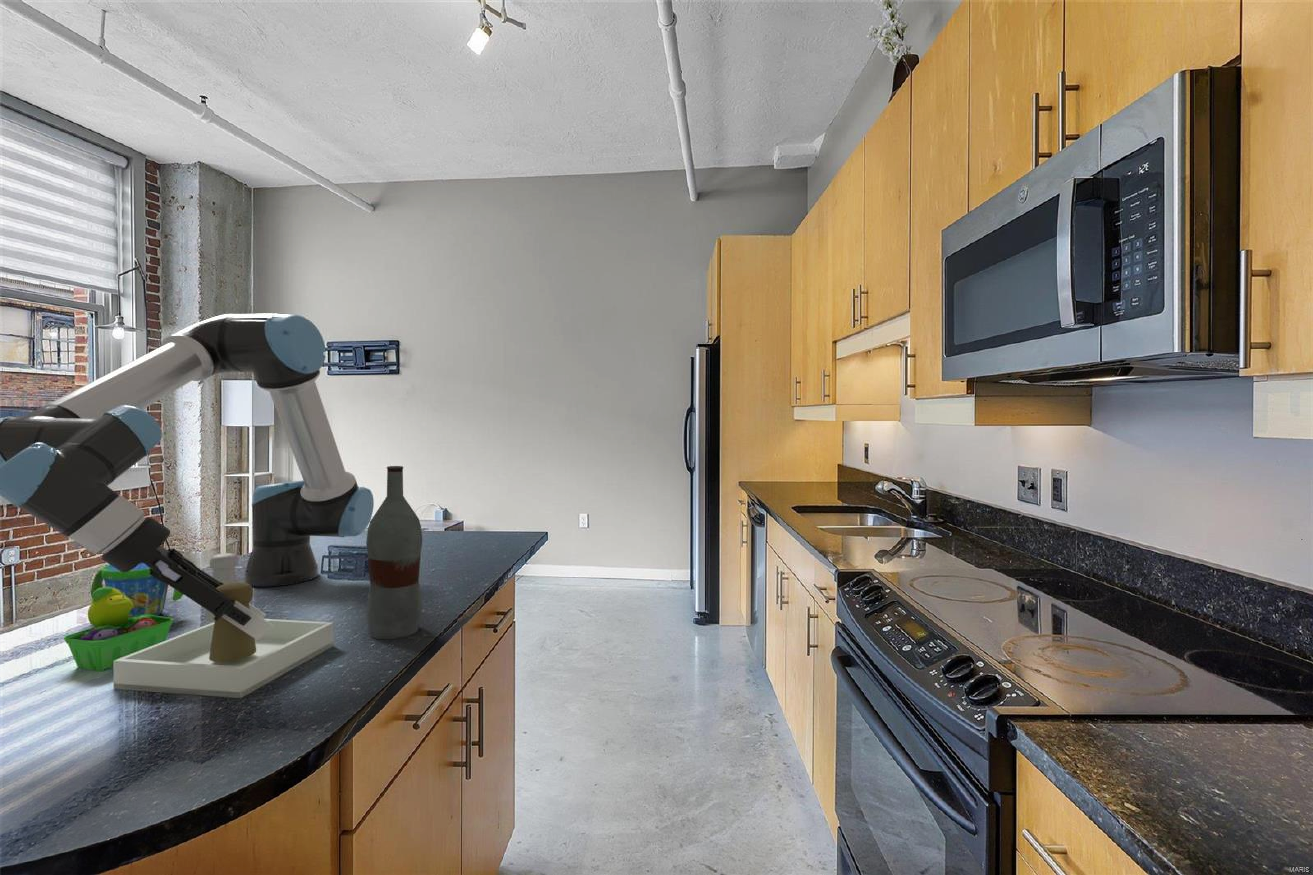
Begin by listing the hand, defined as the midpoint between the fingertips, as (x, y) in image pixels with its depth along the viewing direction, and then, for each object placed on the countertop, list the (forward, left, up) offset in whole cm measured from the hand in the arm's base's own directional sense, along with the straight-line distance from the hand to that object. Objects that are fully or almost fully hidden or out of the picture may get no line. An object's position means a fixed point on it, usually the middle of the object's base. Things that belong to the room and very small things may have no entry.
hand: (261, 626), depth 96 cm
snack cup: (-15, -38, -6) cm, 42 cm away
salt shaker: (-14, -19, -6) cm, 25 cm away
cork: (+2, -3, -4) cm, 5 cm away
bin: (+3, -2, -5) cm, 6 cm away
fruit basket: (+3, -22, -6) cm, 23 cm away
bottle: (-15, +14, -6) cm, 21 cm away
